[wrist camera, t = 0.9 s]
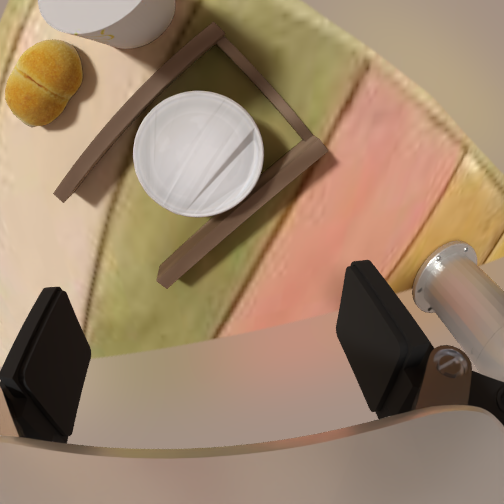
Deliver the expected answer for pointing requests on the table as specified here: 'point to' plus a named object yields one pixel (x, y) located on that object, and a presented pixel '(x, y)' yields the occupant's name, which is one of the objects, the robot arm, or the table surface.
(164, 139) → the ramekin
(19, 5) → the table surface
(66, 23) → the cup
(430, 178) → the table surface
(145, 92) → the walnut open-sided frame
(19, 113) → the bread roll
